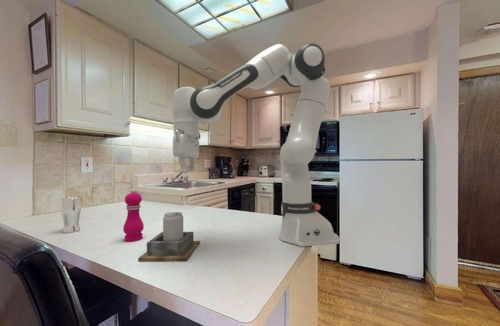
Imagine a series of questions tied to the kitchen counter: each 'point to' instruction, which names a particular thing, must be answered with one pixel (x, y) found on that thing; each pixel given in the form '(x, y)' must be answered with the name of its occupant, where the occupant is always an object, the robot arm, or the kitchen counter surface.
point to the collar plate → (169, 249)
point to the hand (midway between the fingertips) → (188, 170)
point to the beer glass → (71, 214)
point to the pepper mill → (133, 217)
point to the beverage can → (173, 226)
